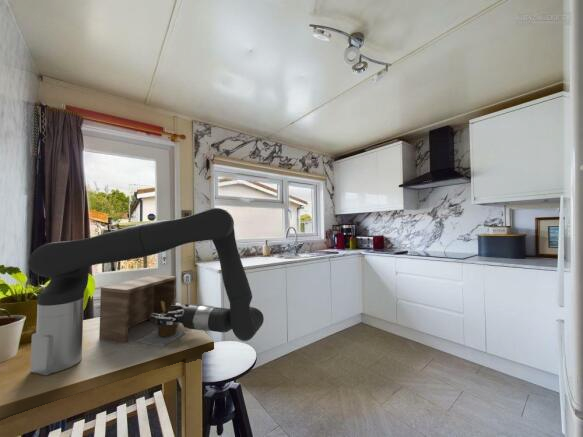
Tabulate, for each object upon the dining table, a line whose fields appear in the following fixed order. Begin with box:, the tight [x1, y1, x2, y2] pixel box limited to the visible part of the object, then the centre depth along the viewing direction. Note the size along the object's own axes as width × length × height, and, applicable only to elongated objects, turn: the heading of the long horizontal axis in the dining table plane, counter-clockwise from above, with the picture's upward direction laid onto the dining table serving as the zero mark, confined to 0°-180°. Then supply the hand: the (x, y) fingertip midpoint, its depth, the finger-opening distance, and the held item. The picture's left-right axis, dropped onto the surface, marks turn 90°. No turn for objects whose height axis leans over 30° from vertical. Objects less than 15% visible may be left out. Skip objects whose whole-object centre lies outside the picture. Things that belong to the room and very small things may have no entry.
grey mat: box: [137, 329, 186, 347], centre depth 82 cm, size 10×10×1 cm
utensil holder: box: [157, 299, 179, 337], centre depth 83 cm, size 6×6×12 cm
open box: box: [98, 274, 177, 345], centre depth 90 cm, size 22×11×17 cm, turn 164°
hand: (161, 312), depth 83 cm, fingers open, 8 cm apart
